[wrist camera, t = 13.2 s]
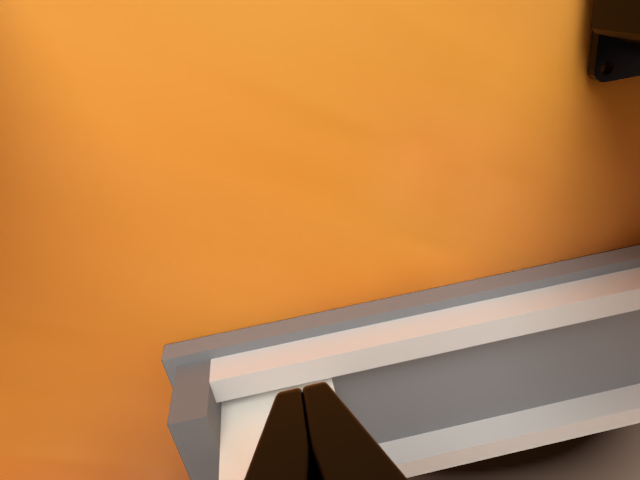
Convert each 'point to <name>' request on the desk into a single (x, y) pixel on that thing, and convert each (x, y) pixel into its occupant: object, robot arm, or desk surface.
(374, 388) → the rail board
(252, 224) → the desk surface
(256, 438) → the block
